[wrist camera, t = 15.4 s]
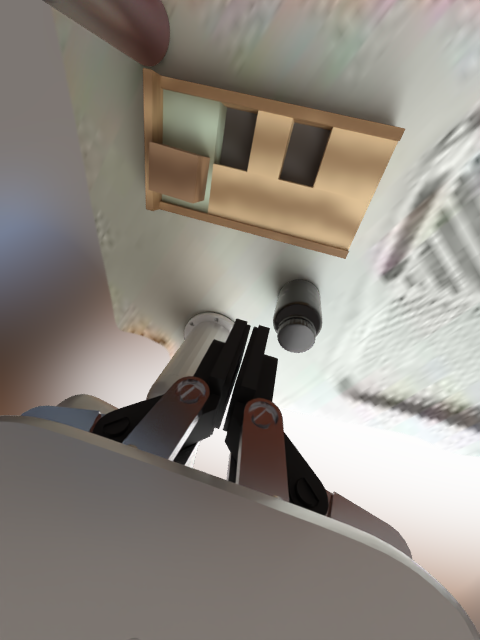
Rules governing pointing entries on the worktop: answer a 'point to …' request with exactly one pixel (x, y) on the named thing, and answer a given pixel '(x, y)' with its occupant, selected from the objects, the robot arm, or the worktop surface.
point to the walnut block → (177, 172)
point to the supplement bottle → (298, 316)
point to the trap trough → (269, 162)
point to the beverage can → (123, 25)
